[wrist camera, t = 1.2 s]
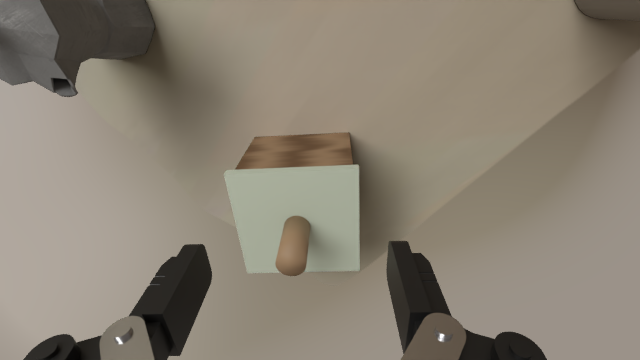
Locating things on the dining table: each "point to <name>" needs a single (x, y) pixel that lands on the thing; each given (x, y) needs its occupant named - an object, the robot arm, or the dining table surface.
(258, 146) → the box
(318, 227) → the lid
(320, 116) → the dining table surface
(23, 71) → the coffeepot
